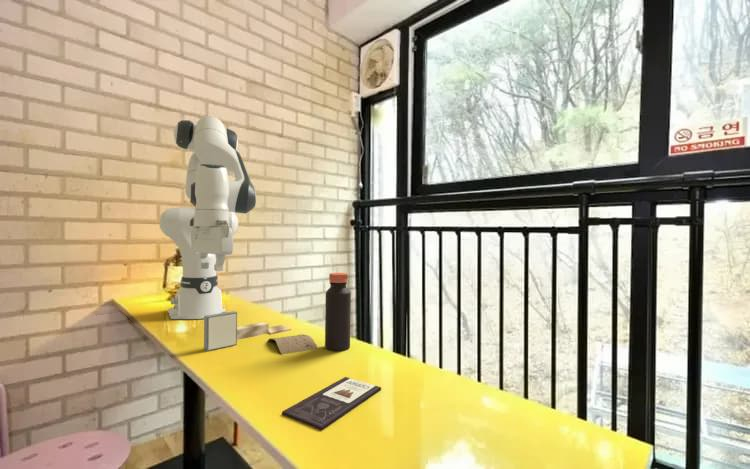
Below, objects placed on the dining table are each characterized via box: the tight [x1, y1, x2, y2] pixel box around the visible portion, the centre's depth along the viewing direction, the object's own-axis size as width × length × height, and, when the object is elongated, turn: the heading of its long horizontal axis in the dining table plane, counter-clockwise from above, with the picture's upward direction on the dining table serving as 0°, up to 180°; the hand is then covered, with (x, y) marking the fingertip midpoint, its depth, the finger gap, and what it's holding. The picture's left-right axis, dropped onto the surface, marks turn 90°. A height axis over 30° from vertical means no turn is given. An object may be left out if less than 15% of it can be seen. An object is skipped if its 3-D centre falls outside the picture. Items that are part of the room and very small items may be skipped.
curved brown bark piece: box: [267, 333, 318, 356], centre depth 101 cm, size 14×10×3 cm
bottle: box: [324, 272, 352, 352], centre depth 99 cm, size 7×7×20 cm
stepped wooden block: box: [237, 321, 292, 341], centre depth 112 cm, size 17×6×3 cm, turn 135°
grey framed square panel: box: [203, 310, 238, 352], centre depth 98 cm, size 2×8×9 cm, turn 135°
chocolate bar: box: [281, 376, 382, 431], centre depth 68 cm, size 9×1×18 cm
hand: (211, 269), depth 104 cm, fingers open, 8 cm apart
